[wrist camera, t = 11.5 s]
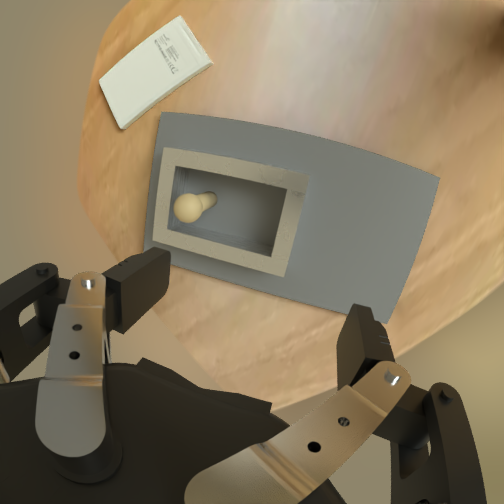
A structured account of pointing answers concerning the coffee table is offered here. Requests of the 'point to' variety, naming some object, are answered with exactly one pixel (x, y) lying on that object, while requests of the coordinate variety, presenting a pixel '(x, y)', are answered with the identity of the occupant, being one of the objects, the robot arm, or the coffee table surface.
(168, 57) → the external hard drive
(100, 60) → the coffee table surface
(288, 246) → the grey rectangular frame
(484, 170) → the coffee table surface
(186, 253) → the board
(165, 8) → the coffee table surface
